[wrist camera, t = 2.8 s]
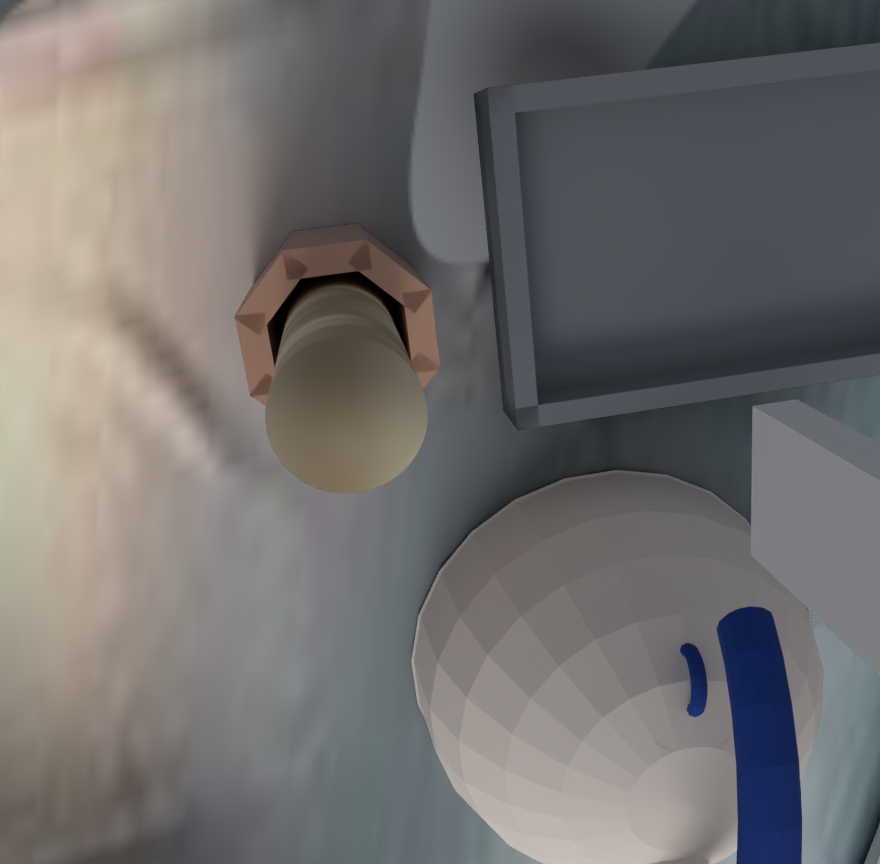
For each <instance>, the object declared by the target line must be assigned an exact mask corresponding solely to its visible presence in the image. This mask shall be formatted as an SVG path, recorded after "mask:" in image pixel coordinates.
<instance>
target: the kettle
mask: <svg viewBox="0 0 880 864" xmlns="http://www.w3.org/2000/svg"><path fill="white" fill-rule="evenodd" d="M411 662H412V669H413V675H414V682H415V689H416V695H417V702H418V705H419V707H420V709H421V711H422V713H423V715H424V718H425V721H426V724H427V726H428V729H429V732H430V735H431V738H432V741H433V744H434V747H435V750H436V753H437V755H438V757H439V759H440V761H441V763H442V765H443V767H444V769H445V771H446V773H447V775H448V777H449V779H450V781H451V783H452V785H453V787H454V789H455V791H456V792H457V793H458V794H459V795H460V796H461V797H462V798H463V799H464V800H465V801H466V802H467V803H468V804H469V805H470V806H471V807H472V808H473V809H474V810H475V811H476V812H477V813H478V814H479V815H480V816H481V817H482V818H483V819H484V820H485V821H486V822H487V823H488V824H489V825H490V826H491V827H492V828H493V829H494V830H495V831H496V832H497V834H498V835H499V836H500V837H501V838H502V839H503V840H504V841H505V842H506V843H507V844H508V845H509V846H511V847H513V848H515V849H517V850H519V851H520V852H522V853H524V854H526V855H528V856H530V857H531V858H533V859H535V860H537V861H539V862H541V863H543V864H715V863H717V862H719V861H722V860H724V859H725V858H727V857H728V856H730V855H731V854H733V853H734V852H736V851H737V864H801V852H802V810H801V789H800V782H801V781H802V779H803V777H804V774H805V771H806V768H807V765H808V762H809V759H810V756H811V753H812V750H813V746H814V743H815V739H816V735H817V731H818V727H819V722H820V718H821V714H822V700H823V675H824V671H823V667H822V664H821V660H820V656H819V652H818V649H817V645H816V641H815V637H814V634H813V630H812V626H811V623H810V619H809V615H808V612H807V608H806V606H805V605H804V604H803V603H802V602H801V601H799V600H798V599H797V598H796V597H795V596H794V595H793V594H792V593H791V592H790V591H789V590H788V589H787V588H786V587H785V586H784V585H782V584H781V583H780V582H779V581H778V580H777V579H776V578H775V577H774V576H773V575H772V574H771V573H770V572H769V571H768V570H767V569H765V568H764V567H763V566H762V565H761V564H760V563H759V562H758V561H757V560H756V559H755V558H754V557H753V556H752V555H751V526H750V524H749V523H748V521H747V520H746V519H745V518H744V517H743V516H741V515H740V514H739V513H738V512H736V511H735V510H734V509H732V508H731V507H730V506H729V505H727V504H726V503H725V502H724V501H722V500H721V499H720V498H718V497H717V496H716V495H715V494H713V493H712V492H711V491H708V490H706V489H703V488H700V487H698V486H695V485H693V484H690V483H687V482H685V481H682V480H680V479H677V478H674V477H672V476H669V475H666V474H655V473H644V472H634V471H623V470H613V471H607V472H601V473H595V474H589V475H582V476H576V477H570V478H564V479H562V480H560V481H557V482H555V483H553V484H550V485H548V486H545V487H543V488H541V489H538V490H536V491H534V492H531V493H529V494H527V495H524V496H522V497H520V498H517V499H515V500H514V501H512V502H511V503H509V504H508V505H507V506H505V507H504V508H503V509H501V510H500V511H499V512H497V513H496V514H495V515H493V516H492V517H491V518H489V519H488V520H487V521H485V522H484V523H483V524H481V525H480V526H478V527H477V528H476V529H474V530H473V531H472V532H471V533H470V534H469V535H468V537H467V538H466V539H465V540H464V542H463V543H462V544H461V545H460V546H459V548H458V549H457V550H456V551H455V552H454V554H453V555H452V556H451V557H450V558H449V560H448V561H447V562H446V563H445V565H444V566H443V567H442V568H441V569H440V571H439V572H438V574H437V576H436V579H435V581H434V583H433V585H432V587H431V589H430V592H429V594H428V596H427V598H426V600H425V603H424V605H423V607H422V609H421V611H420V613H419V616H418V621H417V628H416V634H415V641H414V648H413V654H412V661H411Z"/></svg>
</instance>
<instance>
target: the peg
mask: <svg viewBox="0 0 880 864" xmlns="http://www.w3.org/2000/svg"><path fill="white" fill-rule="evenodd" d="M427 420H428V411H427V403H426V398H425V394H424V391H423V388H422V386H421V384H420V381H419V379H418V377H417V374H416V372H415V370H414V368H413V365H412V363H411V361H410V359H409V356H408V354H407V352H406V350H405V347H404V345H403V343H402V340H401V338H400V336H399V334H398V331H397V329H396V327H395V325H394V322H393V320H392V318H391V316H390V313H389V311H388V309H387V306H386V304H385V302H384V300H383V297H382V295H381V293H380V291H379V289H378V287H377V285H376V284H375V283H374V282H372V281H371V280H370V279H369V278H367V277H366V276H365V275H363V274H362V273H361V272H359V271H354V272H346V273H339V274H332V275H324V276H317V277H309V278H302V279H300V280H299V282H298V283H297V285H296V287H295V289H294V291H293V294H292V297H291V301H290V305H289V309H288V314H287V318H286V322H285V326H284V331H283V335H282V339H281V344H280V348H279V352H278V356H277V361H276V365H275V369H274V373H273V378H272V382H271V386H270V390H269V395H268V399H267V405H266V418H265V421H266V429H267V434H268V437H269V441H270V443H271V446H272V448H273V450H274V452H275V454H276V455H277V457H278V459H279V460H280V461H281V462H282V464H283V465H284V466H285V467H286V468H287V469H288V470H289V471H290V472H291V473H292V474H293V475H295V476H296V477H297V478H299V479H300V480H301V481H303V482H305V483H307V484H309V485H311V486H313V487H316V488H318V489H321V490H325V491H329V492H335V493H357V492H363V491H367V490H371V489H374V488H377V487H379V486H381V485H383V484H386V483H388V482H389V481H391V480H392V479H394V478H395V477H397V476H398V475H399V474H400V473H401V472H403V471H404V470H405V469H406V468H407V467H408V465H409V464H410V463H411V462H412V461H413V459H414V458H415V456H416V455H417V453H418V451H419V449H420V447H421V445H422V443H423V440H424V437H425V433H426V429H427Z"/></svg>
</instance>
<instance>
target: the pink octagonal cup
mask: <svg viewBox="0 0 880 864" xmlns="http://www.w3.org/2000/svg"><path fill="white" fill-rule="evenodd" d="M354 271H359V272H361V273H362V274H363V275H365V276H366V277H367V278H369V279H370V280H371V281H372V282H374V283H375V284H376V285H377V287H378V289H379V291H380V293H381V295H382V297H383V300H384V302H385V304H386V306H387V309H388V311H389V313H390V316H391V318H392V320H393V322H394V325H395V327H396V329H397V331H398V334H399V336H400V338H401V340H402V343H403V345H404V347H405V350H406V352H407V354H408V356H409V359H410V361H411V363H412V365H413V368H414V370H415V372H416V374H417V377H418V379H419V381H420V384H421V386H422V388H423V389H424V388H425V387H426V386H427V384H428V383H429V382H430V381H431V379H432V378H433V377H434V375H435V374H436V373H437V372H438V370H439V369H440V368H441V366H440V361H439V352H438V344H437V335H436V327H435V318H434V310H433V301H432V293H431V292H432V290H431V288H430V287H429V286H428V285H427V284H426V283H425V281H424V280H423V279H422V278H421V277H420V275H419V274H418V273H417V272H416V271H415V270H414V268H413V267H412V266H411V265H410V264H409V263H407V262H406V261H405V260H403V259H402V258H401V257H400V256H398V255H397V254H396V253H394V252H393V251H392V250H391V249H389V248H388V247H387V246H386V245H384V244H383V243H382V242H380V241H379V240H378V239H377V238H375V237H374V236H373V235H371V234H370V233H369V232H368V231H366V230H365V229H364V228H363V227H361V226H360V225H359V224H358V223H355V224H348V225H340V226H332V227H324V228H316V229H309V230H301V231H292V232H290V235H289V236H288V238H287V239H286V240H285V242H284V243H283V244H282V246H281V247H280V249H279V250H278V251H277V253H276V254H275V256H274V257H273V258H272V260H271V261H270V262H269V264H268V265H267V267H266V268H265V269H264V271H263V272H262V274H261V275H260V276H259V278H258V279H257V280H256V282H255V283H253V285H252V287H251V289H250V290H249V292H248V294H247V296H246V297H245V299H244V301H243V302H242V304H241V306H240V308H239V309H238V311H237V313H236V315H235V319H236V324H237V329H238V335H239V340H240V345H241V350H242V355H243V360H244V365H245V370H246V375H247V380H248V385H249V390H250V396H251V397H253V398H255V399H256V400H258V401H259V402H261V403H262V404H264V405H265V406H266V405H267V399H268V395H269V390H270V386H271V382H272V378H273V373H274V369H275V365H276V361H277V356H278V352H279V348H280V344H281V339H282V335H283V331H284V326H285V322H286V318H287V314H288V309H289V305H290V301H291V297H292V294H293V291H294V289H295V287H296V285H297V283H298V282H299V280H300V279H302V278H309V277H317V276H324V275H332V274H339V273H346V272H354Z"/></svg>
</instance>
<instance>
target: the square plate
mask: <svg viewBox="0 0 880 864" xmlns="http://www.w3.org/2000/svg"><path fill="white" fill-rule="evenodd" d="M864 864H880V823H879V826H878V829H877V832H876V834H875V837H874V839H873V842H872V845H871V847H870V850H869V852H868V855H867V857H866V860H865V863H864Z"/></svg>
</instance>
